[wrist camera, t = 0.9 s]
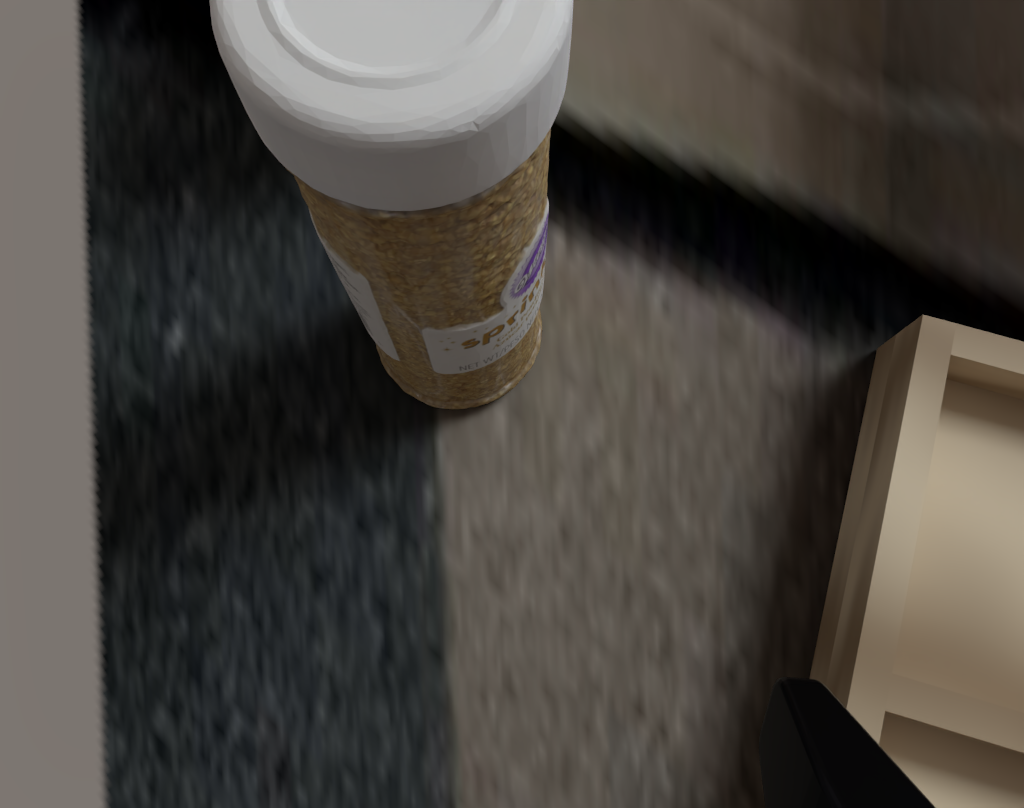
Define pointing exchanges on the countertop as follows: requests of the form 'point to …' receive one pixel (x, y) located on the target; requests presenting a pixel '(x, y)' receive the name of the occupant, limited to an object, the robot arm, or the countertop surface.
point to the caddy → (936, 566)
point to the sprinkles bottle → (417, 166)
